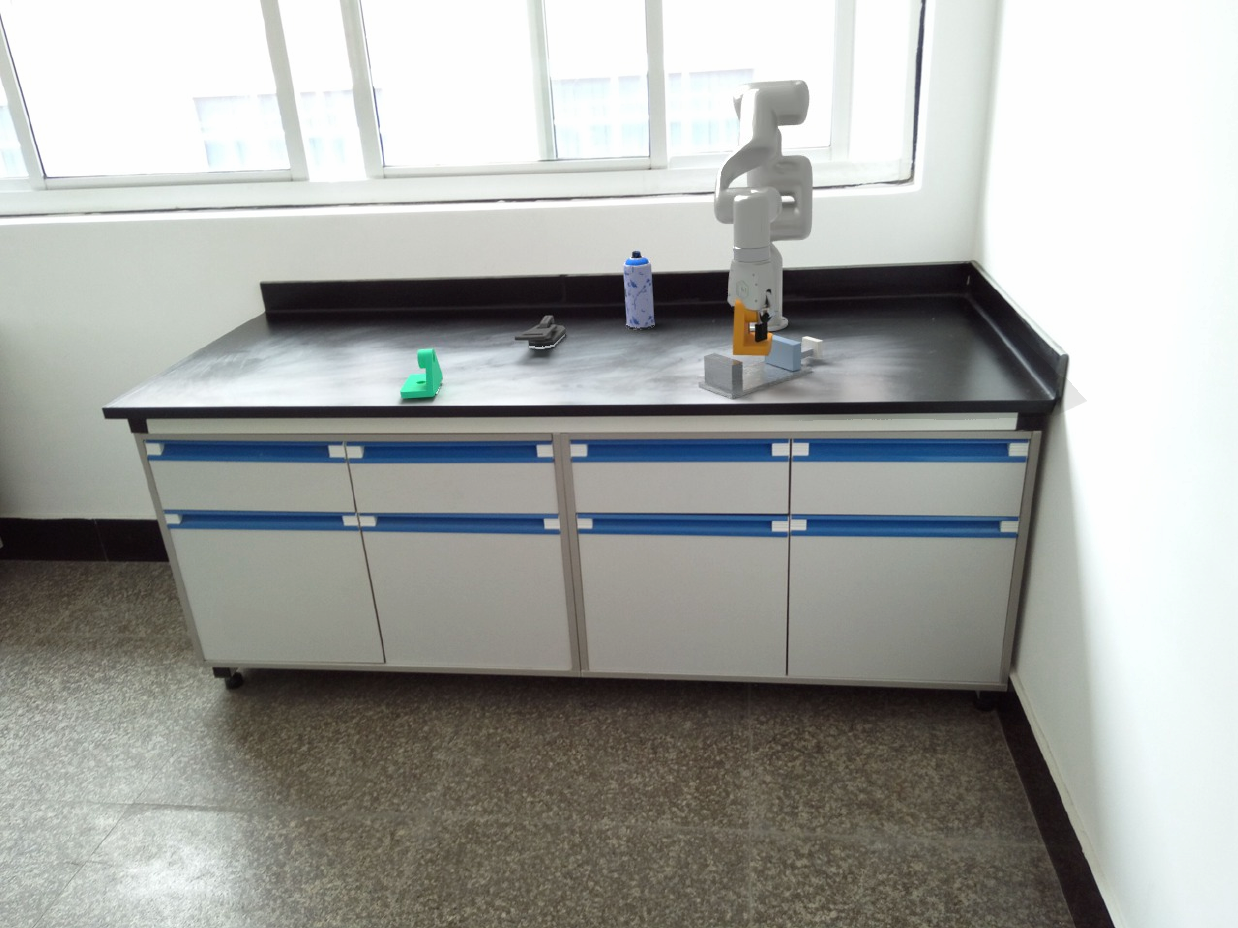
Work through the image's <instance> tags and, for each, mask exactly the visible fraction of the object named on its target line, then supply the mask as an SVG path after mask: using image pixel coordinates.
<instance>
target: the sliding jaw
mask: <svg viewBox="0 0 1238 928" xmlns="http://www.w3.org/2000/svg"><path fill="white" fill-rule="evenodd" d="M823 345H824V340H822V339H818V338H815V337H811V336H803V337H802V338H801V342H800V341H796V340H793V339H789V338H785V337H783V336H778V335H775V334H773V340H772V348H771V351H770V353H769V355H768V356H764V361H765V362H766V363H769V364H772V365H775V366H778V367H781V368H784V369H788V370H791V371H795V370H798V369H801V364H802V360H803V359H805V358H809V357H810V358H814V359H818V360H819V359H822V358H823V350H824V349H823Z"/></svg>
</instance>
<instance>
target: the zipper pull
mask: <svg viewBox="0 0 1238 928" xmlns="http://www.w3.org/2000/svg"><path fill="white" fill-rule="evenodd" d="M565 333H566V327H564V325H557V324H555V318H554V316H553V315H545V316H544V317H542V319H541V321H540V323H539V324H537V325H535V326H533V327H532V328H530V329H527V330H526V331H523V332H522V333H519V334H517V335H515V336H514V341H518V342H519V341H521V342H522V341H524V342H525V341H527V343H528V347H529V346H535V347H542V346H543V347H545V346H550V345H554V344H555V343H556V342H557V341H558V340H559V339H560V338H561V337H562V336H563V335H564V334H565Z"/></svg>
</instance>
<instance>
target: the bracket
mask: <svg viewBox="0 0 1238 928" xmlns="http://www.w3.org/2000/svg"><path fill="white" fill-rule="evenodd" d="M733 312H734V311H733ZM756 318H757V311H750V310H748V309H746V308H745V306H744V305H743V304H742V303H741V302H740V301H739V300H738V299H736V301H735V312H734V313H733V338H732V355H733V356H753V357H754V356H755V357H756V356H757V357H758V356H759V357H765V356H768V355H769V353H770V351H771V348H772V340H773V335H774V334H773V333H771V332H768V338H767V340H764V341H760V342H756V341H755V332H752V331H750V333H749V334H748V322H750V323H757V320H756Z"/></svg>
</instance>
